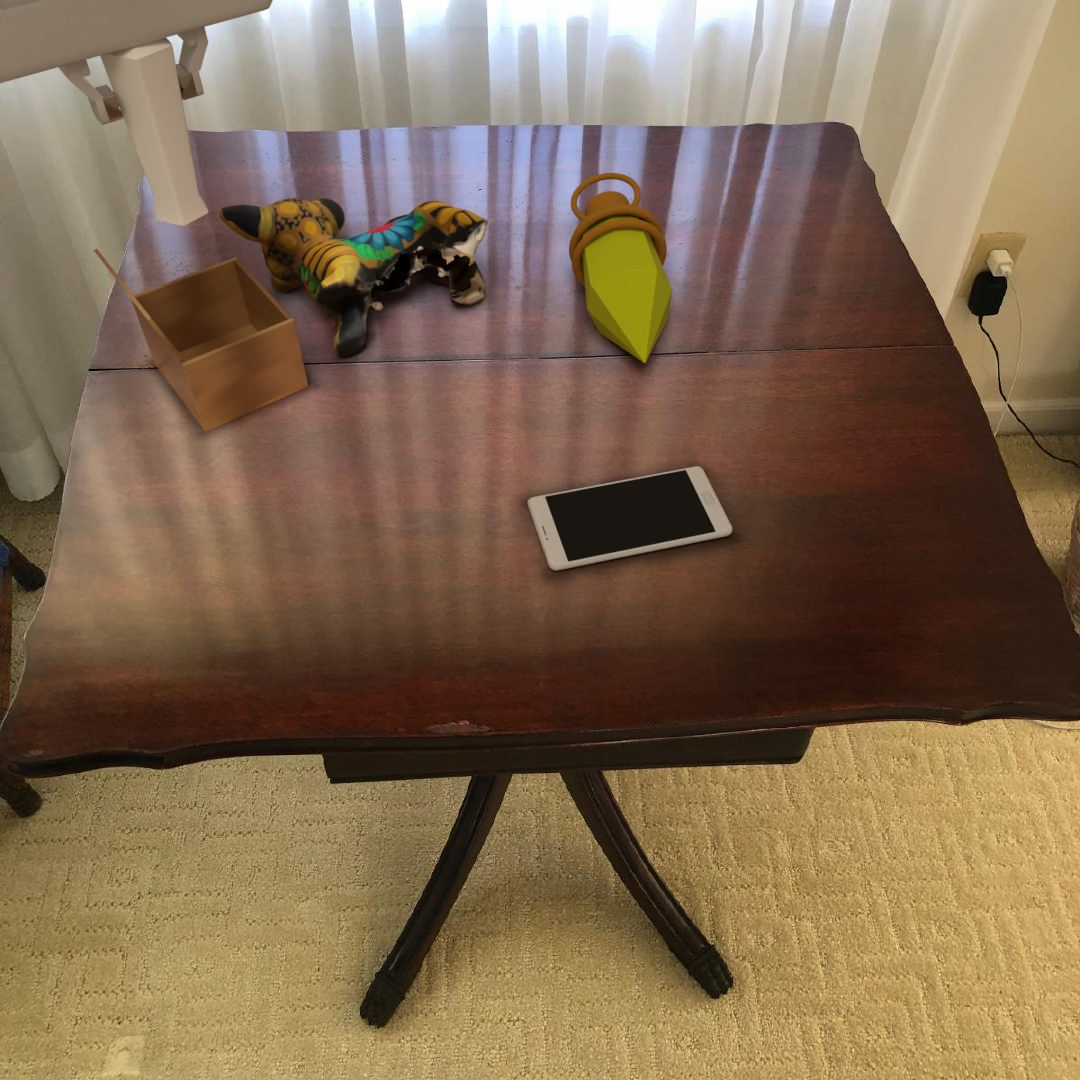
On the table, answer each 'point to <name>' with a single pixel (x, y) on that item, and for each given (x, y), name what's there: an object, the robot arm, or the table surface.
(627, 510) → the smartphone
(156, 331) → the carton flap
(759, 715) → the table surface
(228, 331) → the carton
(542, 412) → the table surface
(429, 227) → the multicolored animal figure
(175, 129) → the perfume bottle
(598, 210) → the plumb bob
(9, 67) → the robot arm
